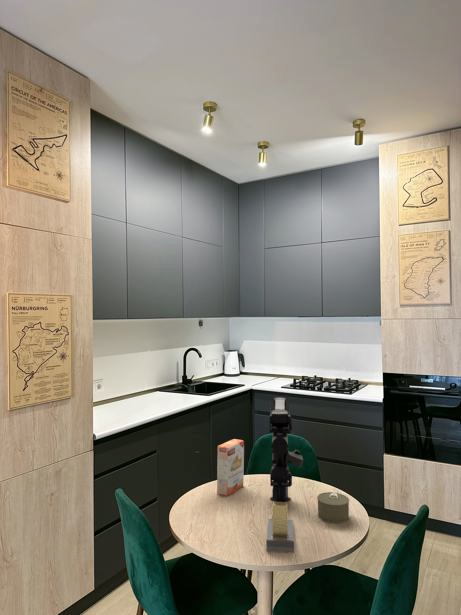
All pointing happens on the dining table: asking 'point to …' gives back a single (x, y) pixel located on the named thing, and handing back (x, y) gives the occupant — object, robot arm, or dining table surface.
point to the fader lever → (280, 521)
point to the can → (333, 507)
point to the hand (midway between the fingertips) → (280, 487)
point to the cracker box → (230, 466)
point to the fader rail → (280, 544)
